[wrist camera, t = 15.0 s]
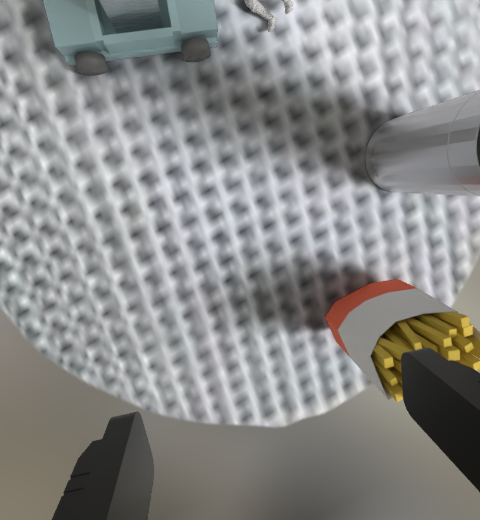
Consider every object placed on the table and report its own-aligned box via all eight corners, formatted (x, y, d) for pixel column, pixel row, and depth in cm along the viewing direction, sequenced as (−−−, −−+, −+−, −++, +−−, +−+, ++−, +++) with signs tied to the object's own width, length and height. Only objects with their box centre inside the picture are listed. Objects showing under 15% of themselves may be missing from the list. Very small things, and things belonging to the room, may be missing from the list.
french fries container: (317, 307, 46) (391, 383, 28) (386, 271, 46) (502, 325, 29) (329, 334, 47) (408, 422, 30) (396, 299, 47) (515, 366, 30)
